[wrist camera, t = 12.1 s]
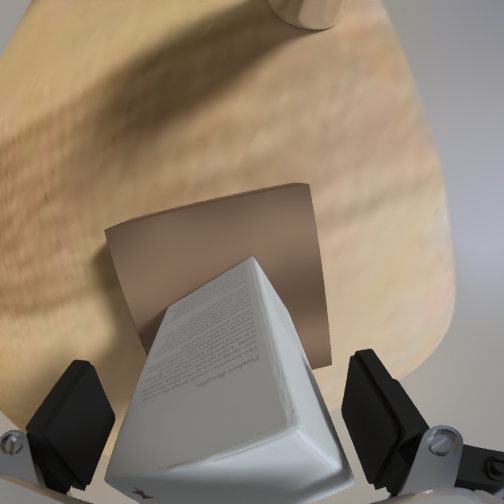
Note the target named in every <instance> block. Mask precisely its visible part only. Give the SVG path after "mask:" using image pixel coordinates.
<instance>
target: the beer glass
mask: <svg viewBox="0 0 504 504" xmlns="http://www.w3.org/2000/svg"><path fill="white" fill-rule="evenodd" d="M347 1H348V0H269V4H270V7H271V8H272V10H273V11H274V13H275V14H276V15H277V16H278V17H279V18H281V19H282V20H284V21H285V22H287V23H289V24H291V25H293V26H296V27H299V28H302V29H308V30H323V29H327V28H330V27H332V26H334V25H336V24H337V23H338V22H339V21H340V20H341V19H342V17H343V14H344V11H345V7H346V3H347Z"/></svg>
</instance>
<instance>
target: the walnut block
mask: <svg viewBox="0 0 504 504" xmlns="http://www.w3.org/2000/svg"><path fill="white" fill-rule="evenodd" d="M104 231H105V235H106V239H107V242H108V246H109V249H110V253H111V256H112V260H113V263H114V266H115V270H116V273H117V276H118V279H119V282H120V285H121V288H122V291H123V294H124V297H125V300H126V303H127V305H128V308H129V311H130V314H131V316H132V319H133V322H134V324H135V327H136V329H137V332H138V334H139V337H140V339H141V342H142V344H143V347H144V349H145V351H146V354H147V356H148V355H149V352H150V350H151V347H152V345H153V342H154V340H155V337H156V335H157V332H158V330H159V328H160V325H161V323H162V321H163V318H164V316H165V314H166V311H167V309H168V307H169V306H170V305H172V304H174V303H176V302H177V301H179V300H181V299H182V298H184V297H186V296H187V295H189V294H191V293H192V292H194V291H195V290H197V289H199V288H200V287H202V286H204V285H205V284H207V283H208V282H210V281H212V280H213V279H215V278H217V277H218V276H220V275H222V274H223V273H225V272H227V271H228V270H230V269H232V268H233V267H235V266H237V265H238V264H240V263H242V262H243V261H245V260H246V259H248V258H250V257H254V258H255V259H256V261H257V262H258V264H259V266H260V267H261V269H262V270H263V272H264V274H265V275H266V277H267V278H268V280H269V282H270V283H271V285H272V286H273V288H274V290H275V291H276V293H277V295H278V296H279V298H280V299H281V301H282V302H283V304H284V306H285V307H286V309H287V310H288V312H289V315H290V317H291V320H292V322H293V325H294V327H295V330H296V332H297V335H298V337H299V340H300V342H301V345H302V347H303V349H304V352H305V354H306V357H307V360H308V362H309V365H310V367H311V370H313V369H317V368H321V367H325V366H329V365H332V359H331V346H330V335H329V324H328V314H327V305H326V296H325V287H324V279H323V271H322V264H321V256H320V249H319V242H318V236H317V229H316V223H315V216H314V210H313V204H312V198H311V193H310V187H309V184H304V183H289V184H283V185H278V186H273V187H267V188H262V189H257V190H252V191H247V192H242V193H238V194H233V195H228V196H223V197H219V198H214V199H210V200H205V201H201V202H197V203H192V204H188V205H184V206H180V207H176V208H171V209H167V210H163V211H159V212H156V213H152V214H148V215H144V216H140V217H136V218H133V219H129V220H127V221H125V222H122V223H120V224H117V225H115V226H113V227H110V228H108V229H106V230H104Z"/></svg>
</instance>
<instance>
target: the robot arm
mask: <svg viewBox="0 0 504 504" xmlns="http://www.w3.org/2000/svg"><path fill="white" fill-rule="evenodd" d="M341 410H342V417H343V419H344V421H345V424H346V427H347V429H348V431H349V434H350V437H351V440H352V442H353V445H354V447H355V450H356V453H357V455H358V458H359V460H360V463H361V465H362V468H363V471H364V473H365V476H366V479H367V481H368V483H369V484H374V487H375V489H376V490H377V489H380V488H383V487H386V489H387V491H388V492H389V493H390V494H389V496H388V498H387V499H385V500H382V501H378V502H374V503H371V504H504V452H500V451H495V450H489V449H483V448H478V447H473V446H469V445H465V444H463V438H462V436H461V434H460V433H459V432H458V431H457V430H456V429H454V428H452V427H449V426H443V425H440V426H434V427H432V428H429V426H428V425H427V423H426V422H425V420H424V419H423V417H422V416H421V414H420V413H419V411H418V410H417V408H416V407H415V405H414V404H413V402H412V401H411V399H410V398H409V396H408V395H407V393H406V392H405V390H404V389H403V387H402V386H401V384H400V383H399V382H398V381H397V380H396V379H393V378H392V377H391V376H390V374H389V373H388V371H387V370H386V368H385V367H384V365H383V364H382V362H381V361H380V359H379V358H378V357H377V355H376V354H375V352H374V351H373V350H372V349H365V350H360V351H356V352H355V354H354V356H351V357H350V361H349V368H348V374H347V380H346V386H345V392H344V397H343V402H342V408H341ZM114 423H115V414H114V412H113V410H112V408H111V406H110V404H109V401H108V399H107V397H106V395H105V392H104V390H103V388H102V385H101V383H100V380H99V378H98V376H97V373H96V370H95V368H94V366H93V365H91V364H90V362H89V361H84V360H74V361H73V362H72V363H71V364H70V366H69V367H68V368H67V370H66V371H65V372H64V374H63V375H62V376H61V378H60V379H59V380H58V382H57V383H56V384H55V386H54V387H53V389H52V390H51V391H50V393H49V394H48V396H47V397H46V398H45V400H44V401H43V403H42V404H41V406H40V407H39V408H38V410H37V411H36V413H35V414H34V416H33V417H32V419H31V420H30V422H29V423H28V425H27V426H26V428H25V429H26V430H27V432H28V433H27V434H26V435H25V434H24V433H23V432H21V431H19V430H10V431H8V432H6V433H4V434H3V435H2V436H1V437H0V504H93V503H89V502H86V501H82V500H80V499H76V498H73V497H72V494H71V492H70V488H71V486H72V487H73V488H76V489H80V490H83V491H85V488H86V485H89V484H90V483H91V481H92V478H93V475H94V473H95V470H96V467H97V465H98V462H99V460H100V457H101V455H102V452H103V450H104V447H105V445H106V442H107V440H108V437H109V435H110V432H111V430H112V427H113V425H114Z"/></svg>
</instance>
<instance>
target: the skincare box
mask: <svg viewBox="0 0 504 504" xmlns="http://www.w3.org/2000/svg"><path fill="white" fill-rule="evenodd" d="M105 481H106V483H108V484H109V485H110V486H112V487H114V488H115V489H117V490H118V491H120V492H121V493H123V494H125V495H126V496H128V497H130V498H131V499H133V500H135V501H137V502H138V503H140V504H308V503H311V502H314V501H317V500H319V499H322V498H324V497H327V496H329V495H332V494H335V493H337V492H340V491H342V490H344V489H347V488H349V487H351V486H353V485H354V484H355V480H354V476H353V474H352V471H351V468H350V466H349V463H348V461H347V458H346V455H345V453H344V450H343V448H342V445H341V443H340V440H339V438H338V436H337V432H336V430H335V427H334V425H333V423H332V420H331V417H330V415H329V412H328V410H327V407H326V405H325V402H324V399H323V397H322V395H321V392H320V390H319V387H318V385H317V382H316V380H315V377H314V375H313V372H312V370H311V367H310V365H309V362H308V360H307V357H306V354H305V352H304V349H303V347H302V345H301V342H300V340H299V337H298V335H297V332H296V330H295V327H294V325H293V322H292V320H291V317H290V315H289V312H288V310H287V309H286V307H285V306H284V304H283V302H282V301H281V299H280V298H279V296H278V295H277V293H276V291H275V290H274V288H273V286H272V285H271V283H270V282H269V280H268V278H267V277H266V275H265V274H264V272H263V270H262V269H261V267H260V266H259V264H258V262H257V261H256V259H255V258H254V257H250V258H248V259H246V260H245V261H243V262H242V263H240V264H238V265H237V266H235V267H233V268H232V269H230V270H228V271H227V272H225V273H223V274H222V275H220V276H218V277H217V278H215V279H213V280H212V281H210V282H208V283H207V284H205V285H204V286H202V287H200V288H199V289H197V290H195V291H194V292H192V293H191V294H189V295H187V296H186V297H184V298H182V299H181V300H179V301H177V302H176V303H174V304H172V305H170V306H169V307H168V309H167V311H166V314H165V316H164V318H163V321H162V323H161V325H160V328H159V330H158V332H157V335H156V337H155V340H154V342H153V345H152V347H151V350H150V352H149V355H148V357H147V360H146V362H145V365H144V367H143V370H142V372H141V375H140V377H139V380H138V383H137V385H136V388H135V391H134V393H133V396H132V398H131V401H130V404H129V407H128V409H127V412H126V415H125V417H124V420H123V423H122V426H121V428H120V431H119V434H118V437H117V440H116V442H115V446H114V449H113V452H112V455H111V458H110V461H109V464H108V468H107V471H106V475H105Z"/></svg>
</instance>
